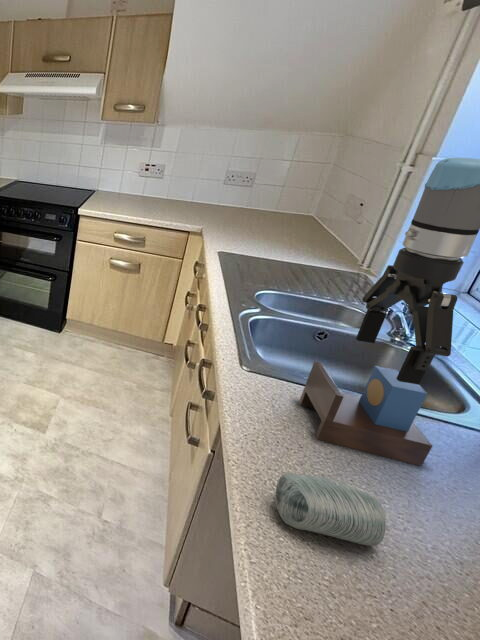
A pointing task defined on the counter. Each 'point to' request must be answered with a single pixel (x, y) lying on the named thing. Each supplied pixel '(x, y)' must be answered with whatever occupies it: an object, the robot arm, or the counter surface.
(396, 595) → the counter surface
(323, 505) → the spool
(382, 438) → the shelf
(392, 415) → the box
